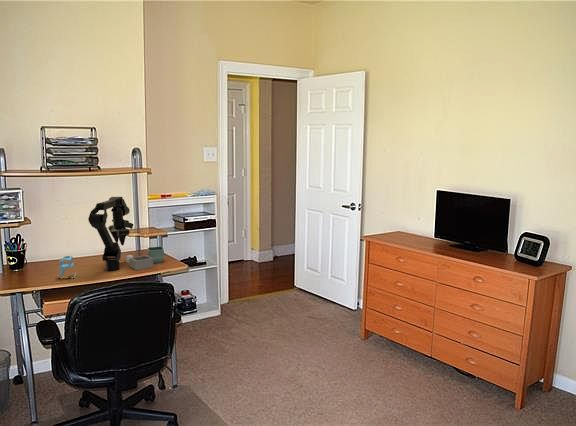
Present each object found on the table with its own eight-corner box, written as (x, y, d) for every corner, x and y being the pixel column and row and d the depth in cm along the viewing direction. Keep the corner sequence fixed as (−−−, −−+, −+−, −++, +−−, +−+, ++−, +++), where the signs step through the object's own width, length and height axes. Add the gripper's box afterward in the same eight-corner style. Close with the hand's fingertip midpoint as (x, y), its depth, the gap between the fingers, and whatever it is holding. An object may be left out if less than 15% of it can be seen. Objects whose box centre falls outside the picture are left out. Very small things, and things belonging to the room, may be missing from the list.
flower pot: (165, 263, 309) (164, 249, 308) (149, 265, 306) (149, 250, 304) (162, 260, 317) (162, 246, 316) (148, 261, 314) (147, 247, 313)
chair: (60, 276, 285) (58, 255, 283) (76, 275, 287) (74, 254, 285) (58, 280, 278) (55, 258, 276) (74, 279, 280) (72, 257, 278)
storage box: (136, 271, 293) (136, 261, 292) (130, 267, 301) (129, 257, 300) (153, 268, 299) (152, 258, 298) (146, 264, 307) (145, 255, 306)
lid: (124, 267, 304) (123, 259, 303) (117, 263, 313) (117, 255, 312) (142, 264, 311) (141, 256, 310) (135, 260, 319) (134, 252, 319)
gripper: (137, 218, 299) (139, 244, 302) (125, 214, 314) (127, 239, 317) (118, 220, 293) (120, 247, 295) (107, 216, 307) (109, 242, 310)
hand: (119, 244), depth 304 cm, fingers open, 9 cm apart
